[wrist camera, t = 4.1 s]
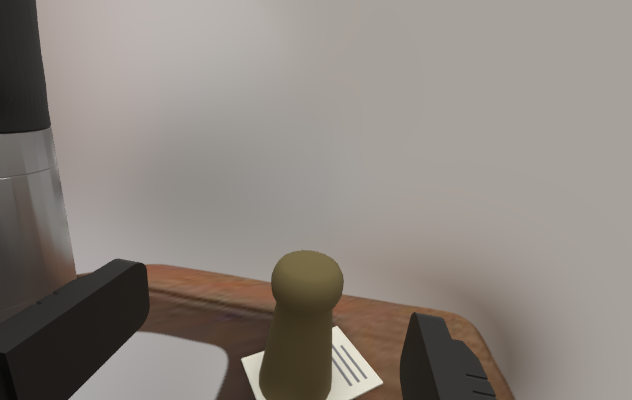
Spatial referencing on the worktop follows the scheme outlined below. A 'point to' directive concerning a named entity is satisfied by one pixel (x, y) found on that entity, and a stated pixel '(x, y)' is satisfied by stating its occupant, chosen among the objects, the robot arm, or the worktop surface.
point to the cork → (301, 328)
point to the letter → (347, 371)
